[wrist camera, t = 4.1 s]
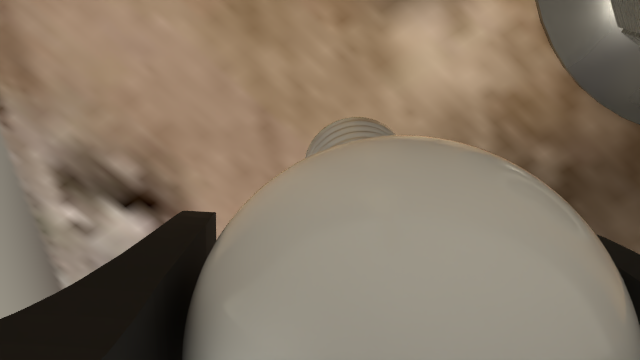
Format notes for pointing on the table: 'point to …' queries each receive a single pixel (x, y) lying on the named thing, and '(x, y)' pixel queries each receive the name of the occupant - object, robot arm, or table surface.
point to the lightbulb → (407, 262)
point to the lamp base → (598, 48)
